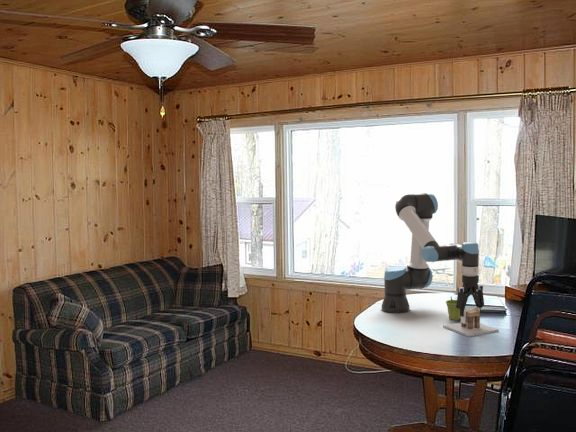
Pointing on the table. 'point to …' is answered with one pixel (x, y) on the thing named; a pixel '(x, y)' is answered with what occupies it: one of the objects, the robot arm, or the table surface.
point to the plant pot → (453, 310)
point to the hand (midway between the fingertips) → (470, 321)
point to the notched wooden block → (472, 319)
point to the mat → (470, 332)
